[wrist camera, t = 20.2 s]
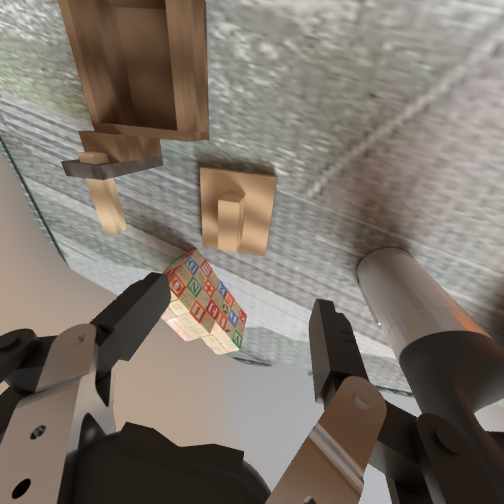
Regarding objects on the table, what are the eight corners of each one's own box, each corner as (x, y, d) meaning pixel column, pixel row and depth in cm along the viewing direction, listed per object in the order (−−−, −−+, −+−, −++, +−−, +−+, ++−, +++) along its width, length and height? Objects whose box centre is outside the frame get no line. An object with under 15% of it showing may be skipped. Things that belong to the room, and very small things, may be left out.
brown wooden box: (209, 170, 33) (170, 189, 22) (137, 162, 34) (66, 175, 23) (205, 2, 23) (132, -114, 12) (105, -2, 24) (-43, -111, 14)
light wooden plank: (126, 228, 29) (116, 234, 28) (114, 226, 30) (103, 232, 28) (106, 153, 24) (93, 154, 23) (91, 151, 24) (77, 152, 23)
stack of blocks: (248, 315, 49) (237, 364, 39) (227, 321, 52) (212, 369, 41) (196, 247, 41) (165, 285, 31) (175, 257, 44) (139, 296, 33)
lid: (266, 249, 39) (261, 272, 33) (207, 239, 40) (192, 260, 34) (277, 174, 32) (275, 185, 26) (205, 165, 33) (185, 173, 27)
